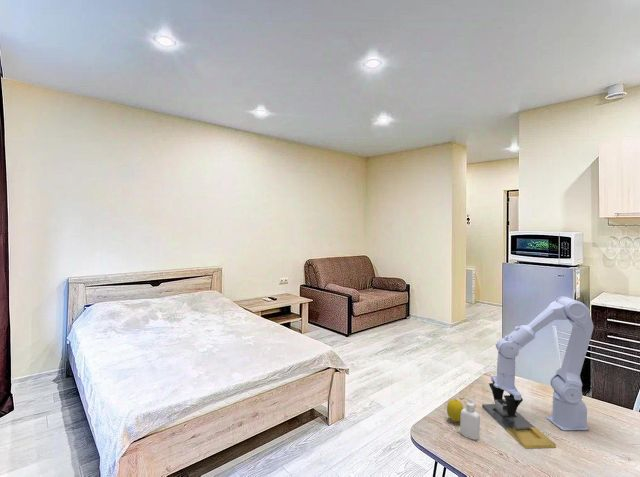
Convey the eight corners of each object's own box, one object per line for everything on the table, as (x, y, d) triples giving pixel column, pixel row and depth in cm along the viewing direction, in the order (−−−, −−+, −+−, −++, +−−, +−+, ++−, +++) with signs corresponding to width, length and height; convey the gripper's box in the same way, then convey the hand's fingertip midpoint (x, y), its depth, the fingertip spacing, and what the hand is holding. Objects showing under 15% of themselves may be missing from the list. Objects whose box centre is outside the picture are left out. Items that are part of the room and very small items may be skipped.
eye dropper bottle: (468, 429, 112) (469, 394, 112) (481, 439, 107) (482, 402, 107) (458, 431, 111) (459, 396, 111) (470, 442, 106) (471, 404, 105)
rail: (507, 406, 128) (507, 403, 128) (555, 447, 104) (555, 444, 104) (482, 407, 127) (482, 404, 127) (525, 448, 103) (525, 445, 103)
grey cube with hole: (506, 412, 124) (506, 398, 123) (514, 419, 119) (514, 405, 119) (494, 412, 123) (495, 398, 123) (502, 419, 119) (502, 405, 119)
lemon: (465, 427, 114) (465, 404, 113) (448, 425, 115) (448, 402, 114) (461, 418, 119) (462, 396, 119) (445, 416, 120) (446, 394, 120)
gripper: (484, 364, 128) (482, 399, 128) (507, 381, 113) (506, 421, 114) (501, 364, 128) (500, 399, 129) (527, 381, 114) (526, 420, 114)
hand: (504, 409), depth 121 cm, fingers open, 7 cm apart
